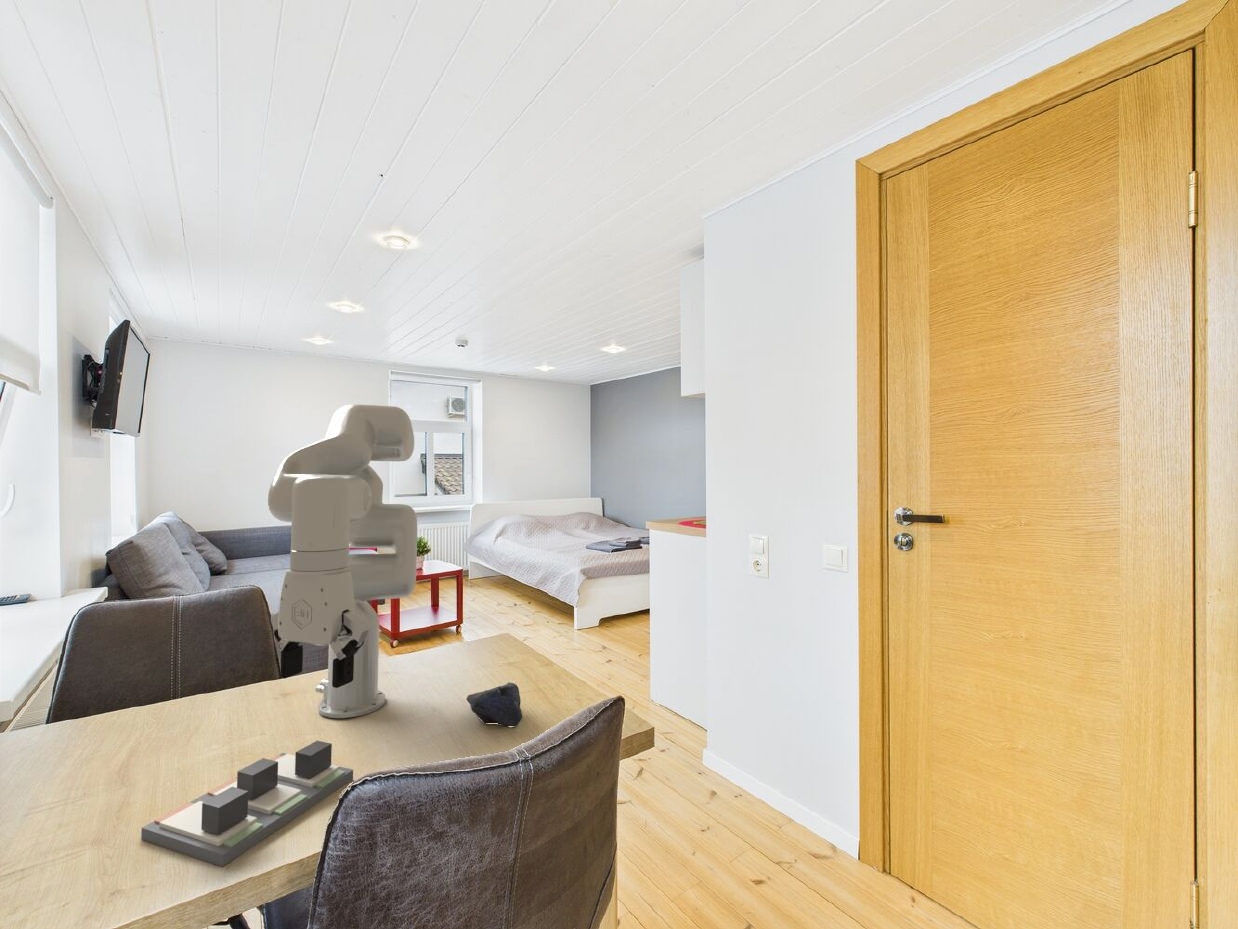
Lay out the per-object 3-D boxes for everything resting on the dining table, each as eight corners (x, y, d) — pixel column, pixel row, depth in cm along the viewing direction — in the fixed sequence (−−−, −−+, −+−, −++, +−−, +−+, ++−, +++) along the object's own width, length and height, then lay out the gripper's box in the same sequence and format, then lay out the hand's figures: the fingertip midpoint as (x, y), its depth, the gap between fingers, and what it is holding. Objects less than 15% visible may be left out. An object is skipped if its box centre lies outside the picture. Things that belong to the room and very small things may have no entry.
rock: (482, 743, 101) (534, 722, 106) (471, 698, 103) (522, 678, 108) (469, 736, 115) (515, 717, 119) (460, 696, 117) (506, 679, 121)
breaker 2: (295, 775, 86) (295, 752, 86) (316, 762, 89) (317, 740, 89) (309, 778, 85) (310, 755, 85) (331, 765, 88) (331, 743, 88)
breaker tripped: (236, 796, 80) (237, 771, 80) (262, 781, 84) (263, 758, 84) (252, 800, 79) (252, 775, 79) (277, 785, 83) (278, 761, 83)
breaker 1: (201, 830, 72) (202, 803, 72) (231, 812, 76) (232, 786, 76) (217, 835, 71) (218, 807, 71) (247, 817, 75) (248, 791, 75)
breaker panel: (141, 839, 74) (141, 823, 74) (282, 761, 94) (282, 749, 94) (222, 866, 69) (222, 850, 69) (353, 779, 89) (353, 766, 89)
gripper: (252, 560, 80) (248, 680, 79) (346, 569, 74) (342, 698, 74) (297, 554, 87) (294, 664, 86) (386, 561, 81) (383, 679, 81)
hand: (316, 679), depth 80 cm, fingers open, 9 cm apart
